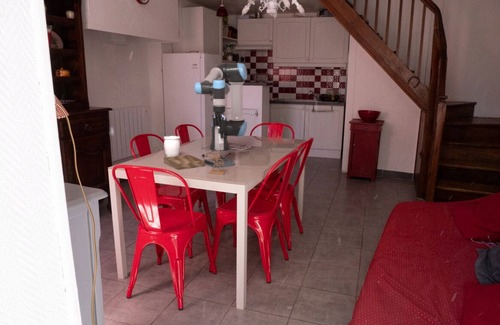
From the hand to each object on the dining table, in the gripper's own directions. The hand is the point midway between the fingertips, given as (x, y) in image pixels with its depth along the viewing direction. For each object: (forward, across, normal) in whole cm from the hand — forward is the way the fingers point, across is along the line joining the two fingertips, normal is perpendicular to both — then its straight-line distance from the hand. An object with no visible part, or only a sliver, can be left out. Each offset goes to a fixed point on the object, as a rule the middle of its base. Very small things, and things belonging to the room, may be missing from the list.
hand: (219, 142), depth 240 cm
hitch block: (+14, 0, 0) cm, 14 cm away
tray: (+14, -12, -19) cm, 27 cm away
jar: (+15, -32, -18) cm, 39 cm away
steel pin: (+5, 0, 0) cm, 5 cm away
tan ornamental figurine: (+14, +18, -12) cm, 26 cm away
